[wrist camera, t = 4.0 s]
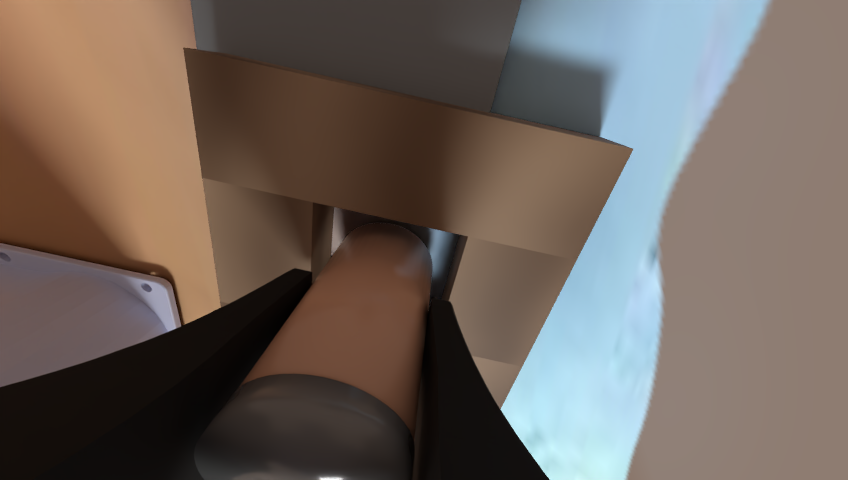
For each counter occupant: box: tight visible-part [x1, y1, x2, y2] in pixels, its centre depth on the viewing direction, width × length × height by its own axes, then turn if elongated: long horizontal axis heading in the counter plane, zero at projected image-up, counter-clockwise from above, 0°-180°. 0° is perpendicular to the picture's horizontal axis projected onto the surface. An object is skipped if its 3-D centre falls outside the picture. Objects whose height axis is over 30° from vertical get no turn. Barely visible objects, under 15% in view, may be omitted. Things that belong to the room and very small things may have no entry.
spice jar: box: [194, 222, 433, 480], centre depth 9 cm, size 4×4×8 cm
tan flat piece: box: [184, 48, 633, 409], centre depth 13 cm, size 13×13×2 cm
